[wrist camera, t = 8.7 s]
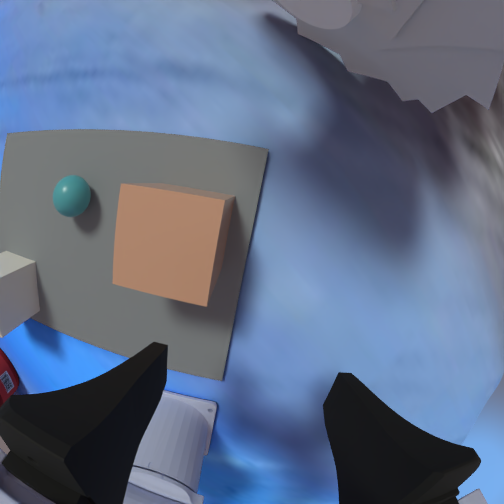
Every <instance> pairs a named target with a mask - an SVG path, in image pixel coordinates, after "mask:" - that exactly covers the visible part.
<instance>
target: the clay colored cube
mask: <svg viewBox="0 0 504 504" xmlns="http://www.w3.org/2000/svg"><path fill="white" fill-rule="evenodd" d="M234 199H235V196H234V195H228V194H223V193H217V192H212V191H206V190H200V189H195V188H189V187H183V186H176V185H170V184H163V183H121V187H120V194H119V201H118V210H117V219H116V229H115V241H114V257H113V284H115V285H119V286H123V287H126V288H130V289H134V290H138V291H141V292H145V293H149V294H153V295H157V296H162V297H166V298H170V299H174V300H178V301H183V302H187V303H192V304H196V305H201V306H206V307H207V305H208V302H209V300H210V297H211V294H212V292H213V289H214V287H215V284H216V282H217V279H218V277H219V274H220V272H221V269H222V263H223V258H224V252H225V247H226V241H227V236H228V230H229V225H230V220H231V215H232V209H233V204H234Z"/></svg>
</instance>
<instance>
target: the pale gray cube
mask: <svg viewBox="0 0 504 504" xmlns="http://www.w3.org/2000/svg"><path fill="white" fill-rule="evenodd" d="M39 311H40V306H39V297H38V288H37V276H36V261H33V260H30V259H27V258H24V257H22V256H19V255H16V254H14V253H11V252H8V251H5V252H2V253H0V337H1V338H3V337H4V336H5V335H7V334H8V333H9V332H11V331H12V330H13V329H15V328H16V327H18V326H19V325H20V324H22V323H23V322H25V321H26V320H27V319H29V318H30V317H32V316H33V315H34V314H36V313H37V312H39Z"/></svg>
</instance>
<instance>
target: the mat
mask: <svg viewBox="0 0 504 504" xmlns="http://www.w3.org/2000/svg"><path fill="white" fill-rule="evenodd" d="M268 150H269V149H265V148H260V147H255V146H250V145H244V144H239V143H233V142H227V141H221V140H214V139H207V138H200V137H192V136H184V135H175V134H165V133H154V132H141V131H125V130H93V129H73V130H44V131H28V132H17V133H7V138H6V144H5V150H4V156H3V163H2V171H1V181H0V253H2V252H5V251H8V252H11V253H14V254H16V255H19V256H22V257H24V258H27V259H30V260H33V261H36V276H37V288H38V297H39V306H40V311H39V312H37V313H36V314H34V315H33V316H32V317H30V318H31V319H33V320H36V321H38V322H40V323H42V324H44V325H46V326H48V327H50V328H53V329H55V330H57V331H59V332H62V333H64V334H66V335H69V336H71V337H73V338H76V339H78V340H81V341H83V342H86V343H89V344H91V345H94V346H97V347H99V348H102V349H105V350H108V351H111V352H113V353H116V354H119V355H122V356H125V357H129V358H131V357H132V356H134V355H135V354H137V353H138V352H140V351H141V350H142V349H144V348H145V347H147V346H148V345H149V344H151V343H152V342H158V343H162V344H166V345H168V357H167V369H170V370H174V371H178V372H182V373H187V374H191V375H195V376H200V377H205V378H209V379H214V380H220V381H222V378H223V373H224V368H225V363H226V358H227V353H228V348H229V343H230V338H231V332H232V327H233V322H234V317H235V312H236V307H237V302H238V297H239V292H240V287H241V282H242V277H243V272H244V267H245V262H246V257H247V253H248V248H249V243H250V238H251V233H252V228H253V223H254V218H255V213H256V208H257V203H258V198H259V193H260V189H261V184H262V179H263V174H264V169H265V164H266V159H267V155H268ZM69 175H77V176H80V177H82V178H83V179H84V180H85V181H86V182H87V183H88V185H89V187H90V191H91V198H90V202H89V205H88V207H87V208H86V210H85V211H84V212H83V213H81V214H80V215H78V216H75V217H66V216H63V215H61V214H60V213H59V212H58V211H57V210H56V208H55V207H54V204H53V191H54V188H55V186H56V185H57V183H58V182H59V181H60V180H61V179H62V178H64V177H66V176H69ZM121 183H163V184H170V185H176V186H183V187H189V188H195V189H200V190H206V191H212V192H217V193H223V194H228V195H234V196H235V199H234V204H233V209H232V215H231V220H230V225H229V230H228V236H227V241H226V247H225V252H224V258H223V263H222V269H221V272H220V274H219V277H218V279H217V282H216V284H215V287H214V289H213V292H212V294H211V297H210V300H209V302H208V305H207V307H206V306H201V305H196V304H192V303H187V302H183V301H178V300H174V299H170V298H166V297H162V296H157V295H153V294H149V293H145V292H141V291H138V290H134V289H130V288H126V287H123V286H119V285H115V284H113V257H114V241H115V229H116V219H117V210H118V201H119V194H120V187H121Z"/></svg>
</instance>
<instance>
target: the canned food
mask: <svg viewBox="0 0 504 504" xmlns="http://www.w3.org/2000/svg"><path fill="white" fill-rule="evenodd" d="M18 386H19V379H18V375H17V373H16V371H15V369H14V367H13V365H12V363H11V362H10V360H9V359H8V357H7V356H6V355H5V353H4V352H3V351H2V350H1V349H0V407H1V406H2V405H3V404H4V403H5V401H6V400H7V399H8V398H9V397H10V396H11V395H12V394H13V393H14V392H15V391H16V390H17V388H18Z"/></svg>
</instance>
